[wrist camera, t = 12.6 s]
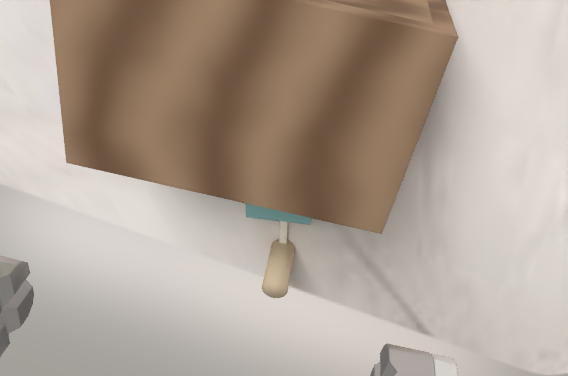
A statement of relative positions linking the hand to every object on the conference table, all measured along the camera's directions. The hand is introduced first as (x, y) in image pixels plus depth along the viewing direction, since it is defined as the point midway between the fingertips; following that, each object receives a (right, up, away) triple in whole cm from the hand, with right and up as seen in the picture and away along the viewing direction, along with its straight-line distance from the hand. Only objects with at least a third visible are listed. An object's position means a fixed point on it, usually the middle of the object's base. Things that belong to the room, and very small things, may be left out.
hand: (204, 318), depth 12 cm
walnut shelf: (0, +14, +28) cm, 32 cm away
